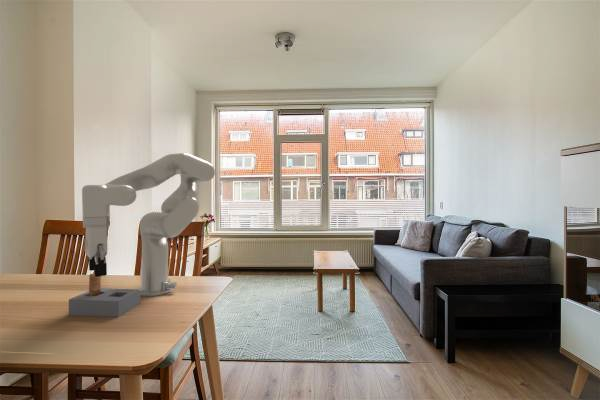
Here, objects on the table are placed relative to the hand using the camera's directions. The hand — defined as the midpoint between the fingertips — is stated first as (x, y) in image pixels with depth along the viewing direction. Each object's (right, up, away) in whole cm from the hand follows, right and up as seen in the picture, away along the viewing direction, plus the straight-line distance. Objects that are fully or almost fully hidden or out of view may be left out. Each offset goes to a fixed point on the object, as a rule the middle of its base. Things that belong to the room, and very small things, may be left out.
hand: (97, 272), depth 102 cm
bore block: (+3, -12, -1) cm, 12 cm away
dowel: (-1, -10, -1) cm, 10 cm away
